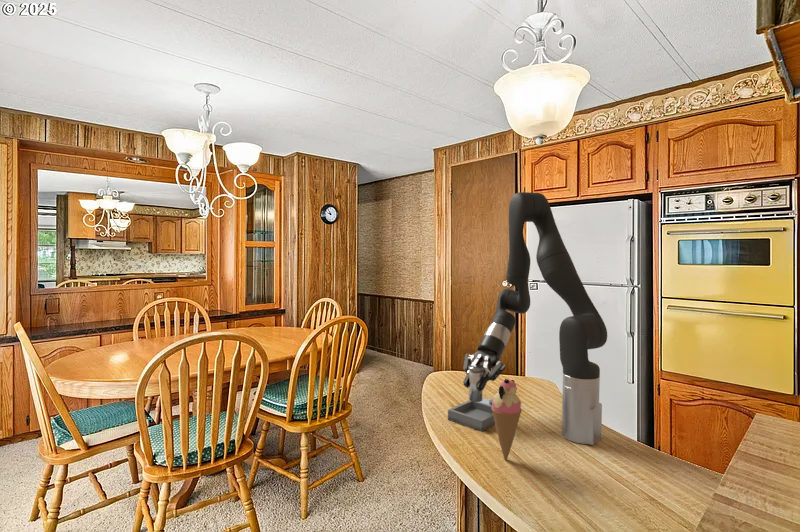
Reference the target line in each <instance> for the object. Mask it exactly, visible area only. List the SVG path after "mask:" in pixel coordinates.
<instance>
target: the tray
mask: <svg viewBox="0 0 800 532" xmlns="http://www.w3.org/2000/svg"><path fill="white" fill-rule="evenodd" d="M491 407H492V406H491V405H488V404H484V403H481V402H473V401H470V400H469V399H468V400H467V401H465V402H462V403H459V404H458V405H456V406H454V407H451V408H449V409H448V410H447V420H448V421H451V422H453V423H456V424H459V425H462V426H465V427H468V428H470V429H474V430H476V431H479V432H484V431H487V430H488V429H489V428H491V427H493V426H495V425H494V424H495V421H494V416H493V412H492V409H491Z"/></svg>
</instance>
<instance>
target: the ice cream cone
mask: <svg viewBox="0 0 800 532" xmlns="http://www.w3.org/2000/svg"><path fill="white" fill-rule="evenodd" d="M492 399H493V401H492V407H491V409H492V412H493V416H494V421H495V425H494V426H495V428H496V433H497V437H498V441H499V445H500V449H501V452H502V455H503V459H504V460H505V461H507V460H508V459H509V454H510V451H511V448H512V446H513V442H514V438H515V435H516V431H517V428H518V424H519V421H520V418H521V413H522V402H521V399H520V397H519V396H518V395H517V384H516V383H515V379H509V378H508V379H507V378H504V379H503V380H502V381H501V382H500V383H499V385H498V392H496V393H495V394H494V395H493V397H492Z"/></svg>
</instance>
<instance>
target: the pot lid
mask: <svg viewBox="0 0 800 532" xmlns="http://www.w3.org/2000/svg"><path fill="white" fill-rule="evenodd" d="M492 401H493V398H482V401H480V402H481V403H484V404H488V405H491V406H492Z"/></svg>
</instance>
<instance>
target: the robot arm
mask: <svg viewBox="0 0 800 532" xmlns="http://www.w3.org/2000/svg"><path fill="white" fill-rule="evenodd" d="M555 220H556V219H555V218H554V215H553V211H552V208H551V206H550V202H549V201H548V198H547V197H546V196H545V195H544V194H543V193H539V192H531V191H530V192H528V191H527V192H526V191H525V192H523V191H520V192H519V191H518V192H516V193H514V194H513V195H512V196H511V198H510V200H509V205H508V240H509V242H508V246H509V247H508V248H509V249H508V261H507V270H506V275H505V281H506V283H508V284H510V285H511V286H513V287H515V288H516V290H513V289H509V288H504V289H502V290H501V291H499V294H498V296H497V303H496V304H497V305H496V307H495V308H496V309H495V313H494V316H493V317H492V320H491V322H490V324H489V325H488V327H487V329H486V330H485V332H484V334H483V337H482V338H481V340H480V342H479V345H478V347H477V351H476V352H475V353H474V354H469V353H465V355H464V361H463V371H464V372H465V373H466V375H465V377H464V379H463V382H462V383H463V386H464V387H465V388H467V389H469V370H468V366H469V365H482V366H483V367H484V371H483V375H482V376H483V377H481V378H480V380H479V383H478V385H477V387H476V388H477V390H478V391H480V392H481V391H482V390H483V391H484V390H485V387H486V385H487V383H488V382H489V381H492V382H494V381H495V380H497V378H498V377H500V375H501V374H502V372H504V370H505V369H506V367H507V366H506V365H505V363H504V362H503V361H500V359H501V357H502V356H503V353H504V351H505V349H506V347H507V345H508V342H509V340H510V336H511V334H512V332H513V330H514V327H515V325H516V323H517V319H516V317H515V316H514V315H513V313H516V314H521V315H523V314H525V313H527V312H528V311H529V309H530V307H531V294H530V287H529V277H530V272H531V271H530V270H531V255H530V252H529V249H528V247H527V244H526V240H525V238H524V228H525V223H533V225H534V226H535V229H536V230H537V234H538V237H539V242H538V245H537V250H536V263H537V266H538V269H539V271H540V273H541V276H542V278H543V280H544V281H545V283H546V284H547V285H548V286H549V288H551V290H553V291H554V293H556V294H557V295H558V296H559V297H560V298H561V299H562V300H563V301H564V302H565V303H566V305H567V306H568V308H569V310H570V311H571V313H572V316H568V317H565V318H563V320H562V321H561V323H560V326H559V336H558V337H559V339H558V341H559V358H560V363H561V367H562V403H561V404H562V405H561V406H562V407H561V435H562V437H563V438H565V439H566V440H568V441H571V442H573V443H578V444H582V445H583V444H584V445H585V444H586V445H591V446H594V445H595V444H596V443H598V442H599V441H600V440H601V439H602V425H603V424H602V423H603V420H602V419H603V404H602V403H600V387H601V386H600V384H601V383H600V380H601V375H600V374H601V371H600V370H601V368H600V366H599V364H598V363H595V362H592V361H590V360H589V351H588V350H595V349H599V348H602V347H603V346H605V345H606V343H607V341H608V329H607V326H606V324H605V322H604V320H603V318H602V316H601V315H600V313H599V311H598V310H597V308H596V306H595V305H594V303H593V301H592V299H591V298H590V296H589V294H588V292H587V290H586V289H585V286H584V284H583V282H582V280H581V278H580V276H579V274H578V272H577V270H576V267H575V264H574V262H573V259H572V258H571V256H570V253H569V252H568V250H567V248H566V245H565V243H564V241H563V238H562V236H561V234H560V231H559V229H558V225H557V223H556V221H555ZM509 311H510V312H512V313H510V312H509Z"/></svg>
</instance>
